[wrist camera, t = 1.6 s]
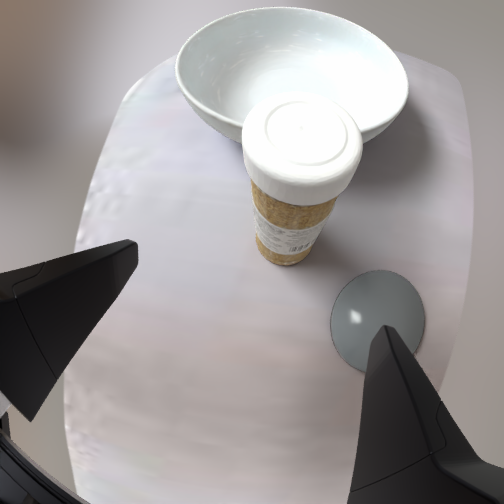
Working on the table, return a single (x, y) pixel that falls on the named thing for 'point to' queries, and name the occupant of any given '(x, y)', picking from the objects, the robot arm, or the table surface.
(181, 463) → the table surface
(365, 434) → the robot arm
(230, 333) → the table surface
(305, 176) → the sprinkles bottle
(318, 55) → the serving bowl
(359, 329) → the coaster
